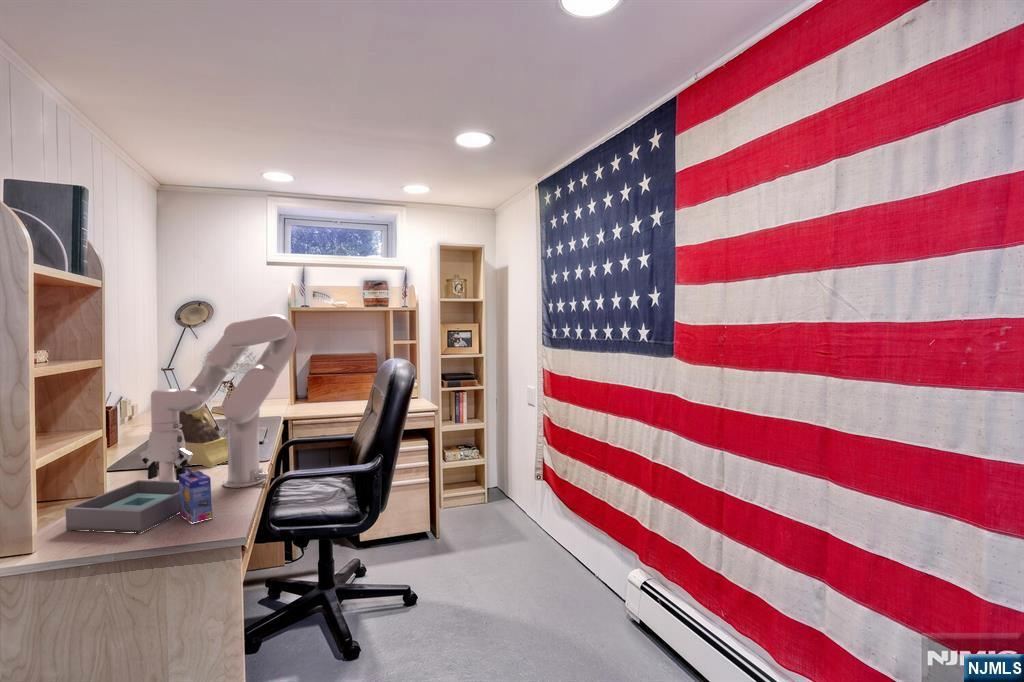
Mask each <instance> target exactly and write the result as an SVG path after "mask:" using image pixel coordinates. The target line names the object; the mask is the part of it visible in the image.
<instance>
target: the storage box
mask: <svg viewBox="0 0 1024 682" xmlns="http://www.w3.org/2000/svg"><path fill="white" fill-rule="evenodd" d="M179 512H180V492H179V481H174V482H172V481H159V480H145V479H143V480H139V479H138V480H137V479H136V480H135V481H132V482H130V483H128V484H125V485H122V486H120V487H117V488H115V489H112V490H109V491H107V492H105V493H102V494H99V495H96V496H93V497H92V498H89V499H87V500H86V499H85V500H84V501H82V502H78V503H76V504H73V505H70V506H68V507H66V508H65V530H66V529H67V530H89V531H93V530H94V531H115V532H134V533H135V532H136V533H141V532H143V531H145V530H147V529H149V528H151V527H153V526H155V525H157V524H159V523H161V522H163V521H165V520H167V519H169V518H170V517H172V516H174V515H176V514H177V513H179ZM176 516H177V515H176ZM174 517H175V516H174ZM169 520H170V519H169ZM167 521H168V520H167ZM165 522H166V521H165ZM163 523H164V522H163ZM161 524H162V523H161ZM159 525H160V524H159ZM157 526H158V525H157ZM155 527H156V526H155Z"/></svg>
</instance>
